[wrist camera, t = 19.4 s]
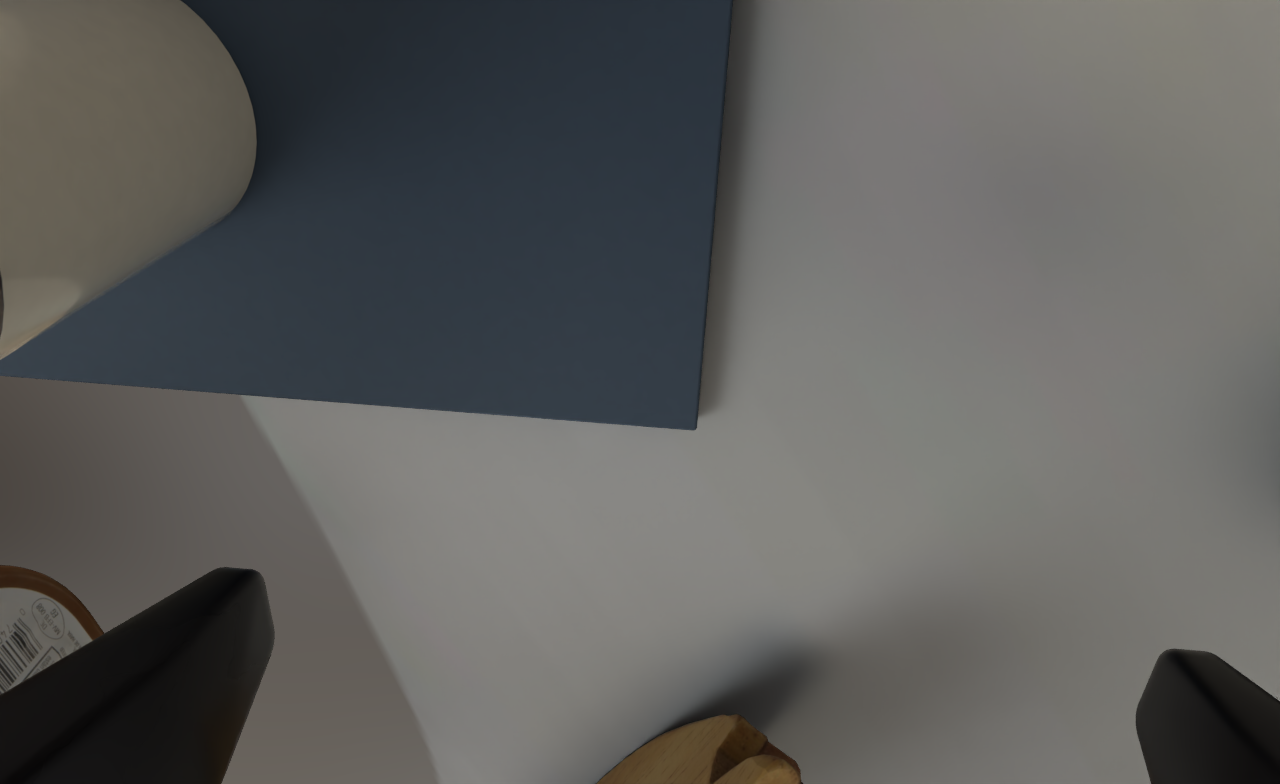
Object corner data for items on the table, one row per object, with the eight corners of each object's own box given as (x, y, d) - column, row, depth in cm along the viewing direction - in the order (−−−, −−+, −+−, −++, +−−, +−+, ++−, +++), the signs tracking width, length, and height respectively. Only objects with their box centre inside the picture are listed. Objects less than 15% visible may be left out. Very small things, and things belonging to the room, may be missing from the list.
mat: (748, -186, 17) (748, -190, 16) (697, 419, 23) (696, 431, 22) (-272, -231, 18) (-303, -235, 17) (-55, 361, 24) (-74, 371, 23)
